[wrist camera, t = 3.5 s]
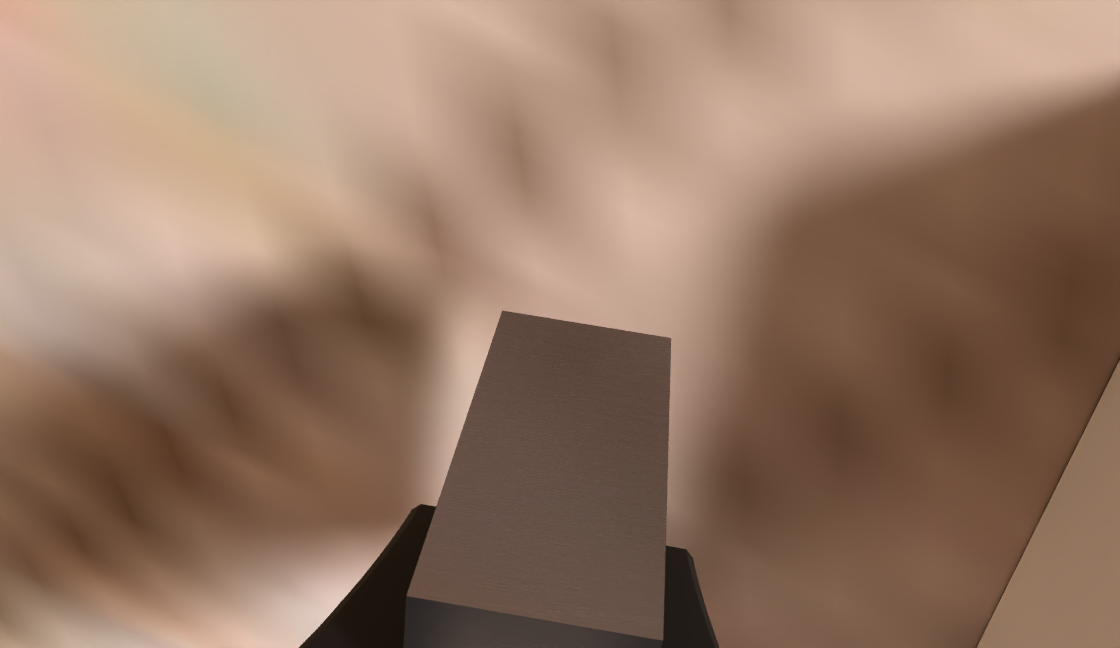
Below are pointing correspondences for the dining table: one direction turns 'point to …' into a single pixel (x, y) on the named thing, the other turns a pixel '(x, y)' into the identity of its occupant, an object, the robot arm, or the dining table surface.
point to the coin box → (1072, 551)
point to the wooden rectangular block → (552, 497)
